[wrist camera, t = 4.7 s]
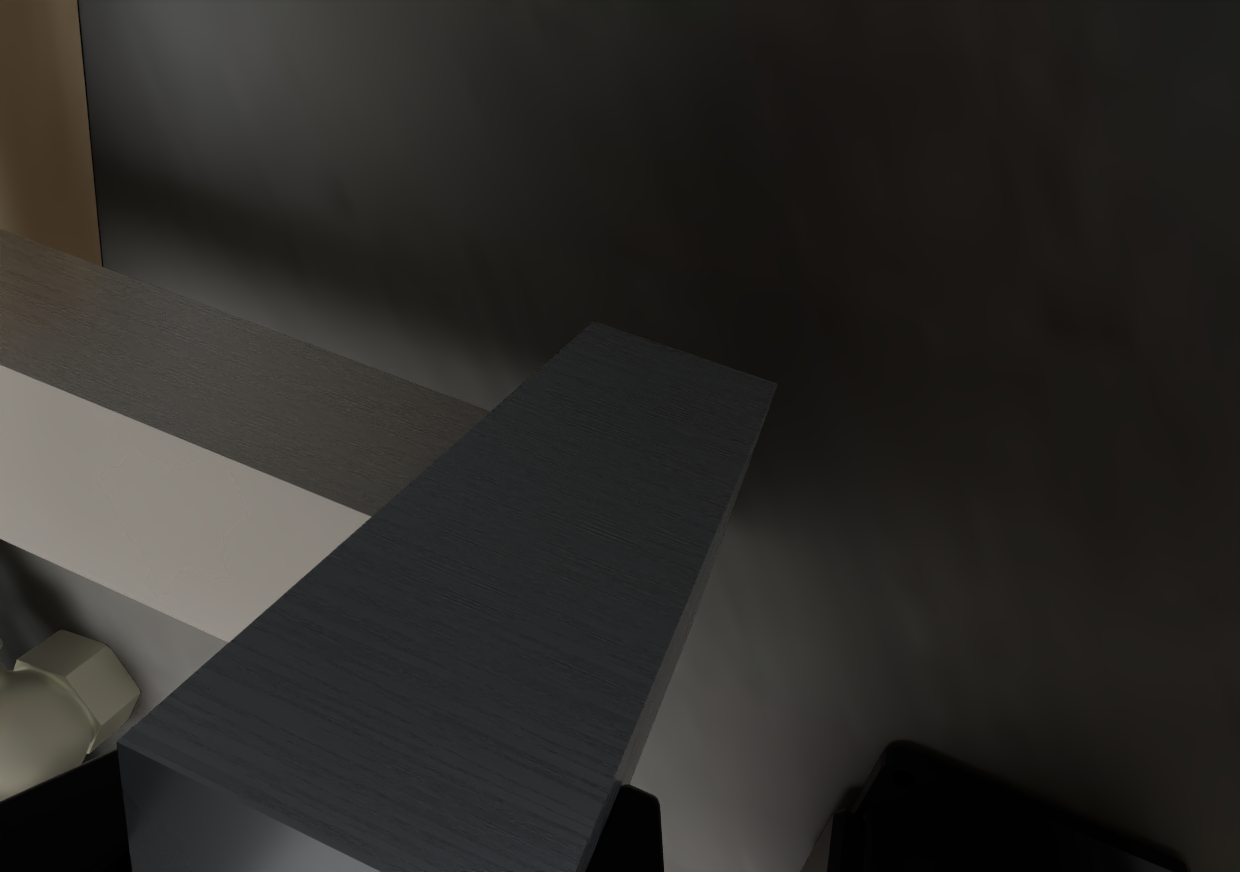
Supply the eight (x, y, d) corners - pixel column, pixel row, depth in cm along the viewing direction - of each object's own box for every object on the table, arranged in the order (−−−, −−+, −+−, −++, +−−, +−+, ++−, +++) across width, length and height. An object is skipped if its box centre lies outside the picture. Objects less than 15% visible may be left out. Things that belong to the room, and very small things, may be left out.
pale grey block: (777, 384, 12) (542, 951, 5) (691, 627, 15) (443, 1258, 7) (-101, 82, 15) (-1116, 135, 8) (-52, 326, 18) (-786, 550, 10)
